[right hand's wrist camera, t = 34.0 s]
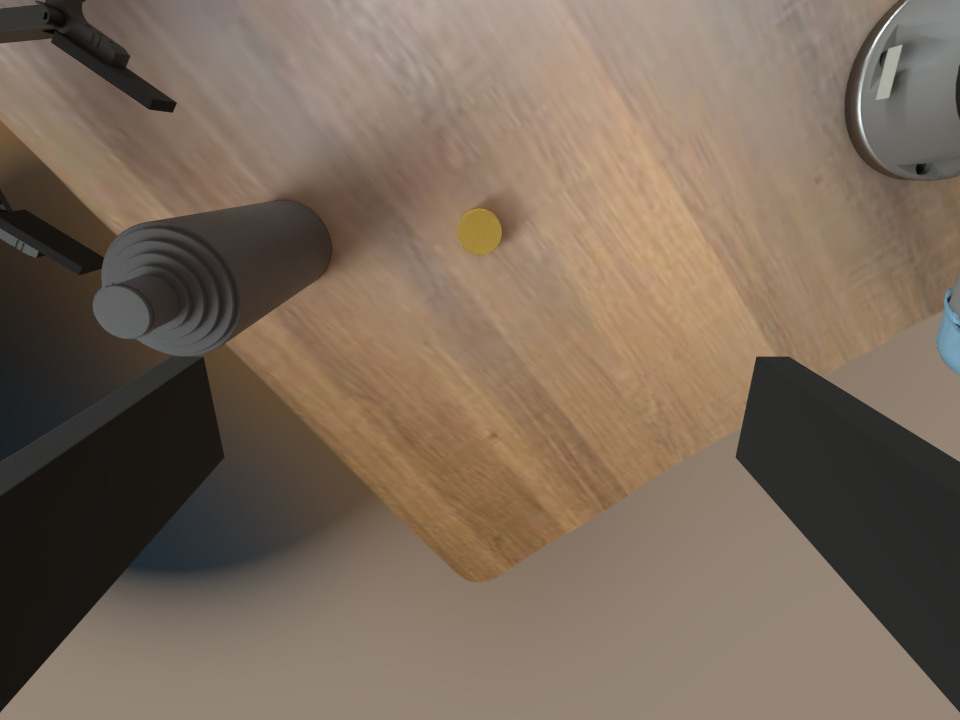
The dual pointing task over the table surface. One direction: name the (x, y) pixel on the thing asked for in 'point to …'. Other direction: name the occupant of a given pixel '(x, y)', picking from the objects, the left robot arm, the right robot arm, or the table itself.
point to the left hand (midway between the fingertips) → (127, 191)
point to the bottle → (208, 274)
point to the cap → (480, 231)
